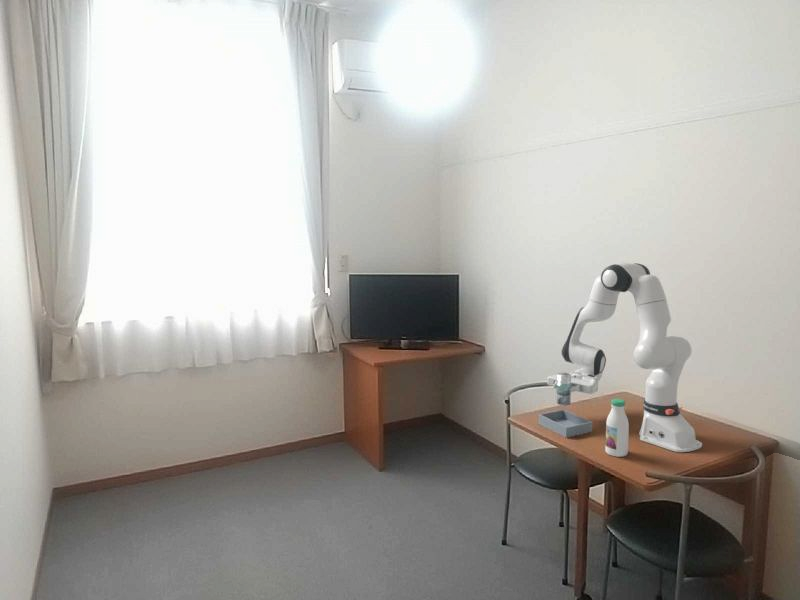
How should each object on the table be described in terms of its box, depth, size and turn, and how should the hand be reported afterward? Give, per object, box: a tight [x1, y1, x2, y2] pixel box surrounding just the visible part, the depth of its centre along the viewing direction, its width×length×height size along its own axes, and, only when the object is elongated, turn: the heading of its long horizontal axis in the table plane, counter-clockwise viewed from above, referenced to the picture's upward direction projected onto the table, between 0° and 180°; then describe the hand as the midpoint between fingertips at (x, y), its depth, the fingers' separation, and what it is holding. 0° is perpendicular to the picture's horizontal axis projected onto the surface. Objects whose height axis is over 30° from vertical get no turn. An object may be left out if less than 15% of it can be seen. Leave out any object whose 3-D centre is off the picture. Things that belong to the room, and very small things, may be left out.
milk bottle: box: [604, 398, 630, 458], centre depth 201 cm, size 8×8×20 cm
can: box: [555, 372, 572, 406], centre depth 228 cm, size 6×6×12 cm
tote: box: [537, 409, 593, 439], centre depth 228 cm, size 17×13×4 cm
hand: (562, 388), depth 228 cm, fingers closed on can, 6 cm apart
